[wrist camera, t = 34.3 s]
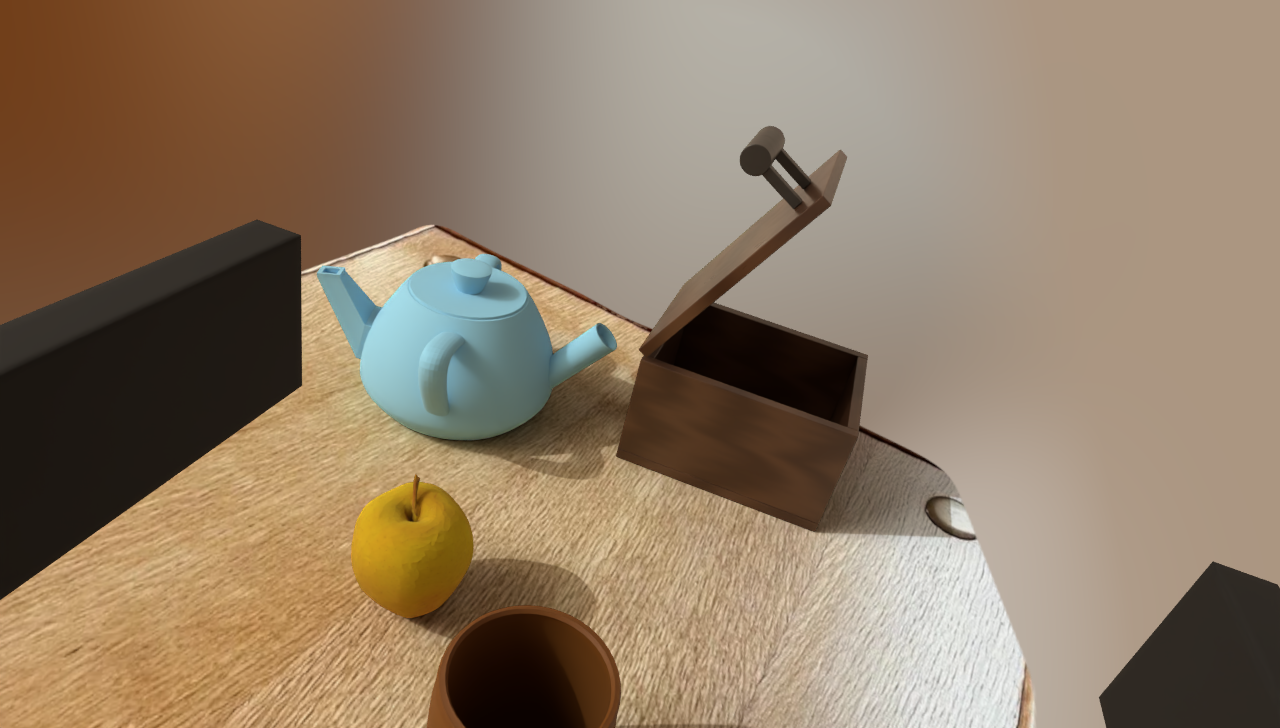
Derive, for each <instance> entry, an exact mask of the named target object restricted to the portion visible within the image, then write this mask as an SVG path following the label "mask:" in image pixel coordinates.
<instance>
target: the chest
mask: <svg viewBox="0 0 1280 728" xmlns="http://www.w3.org/2000/svg"><path fill="white" fill-rule="evenodd" d="M867 358H868V355H866V354H863V353H860V352H857V351H854V350H851V349H848V348H845V347H842V346H840V345H837V344H833V343H831V342H828V341H825V340H822V339H819V338H816V337H813V336H810V335H807V334H804V333H801V332H798V331H796V330H793V329H789V328H787V327H784V326H781V325H778V324H775V323H772V322H769V321H766V320H763V319H760V318H758V317H754V316H752V315H749V314H745V313H743V312H740V311H737V310H734V309H731V308H728V307H725V306H722V305H719V304H717V303H714V302H713V303H712V304H711V305H710V306H709V307H707V308H706V309H705V310H704V311H702V312H701V313H700V314H699V315H698V316H696V317H695V318H694V319H693V320H692V321H690V322H689V323H688V324H687V325H685V326H684V327H683V328H682V329H681V330H679V331H678V332H677V333H676V334H675V335H673V336H672V337H671V338H670V339H668V340H667V341H666V342H665V343H664V344H662V345H661V346H660V347H659V348H658V349H656V350H655V351H654V352H653V353H651V354H650V355H649V356H648V357H645V356H643V357H642V359H641V361H640V365H639V369H638V373H637V377H636V381H635V385H634V388H633V392H632V396H631V400H630V404H629V408H628V412H627V415H626V419H625V423H624V427H623V431H622V435H621V439H620V443H619V446H618V450H617V454H616V456H617V457H619V458H622V459H624V460H627V461H630V462H632V463H635V464H638V465H640V466H643V467H646V468H648V469H651V470H653V471H656V472H659V473H661V474H664V475H667V476H669V477H672V478H674V479H677V480H680V481H682V482H685V483H688V484H690V485H693V486H696V487H698V488H701V489H703V490H706V491H709V492H711V493H714V494H717V495H719V496H722V497H724V498H727V499H730V500H732V501H735V502H738V503H740V504H743V505H745V506H748V507H751V508H753V509H756V510H759V511H761V512H764V513H767V514H769V515H772V516H774V517H777V518H780V519H782V520H785V521H788V522H790V523H793V524H795V525H798V526H801V527H803V528H806V529H809V530H811V531H814V532H815V531H816V528H817V526H818V523H819V522H820V520H821V517H822V515H823V513H824V511H825V509H826V506H827V504H828V502H829V500H830V498H831V495H832V493H833V491H834V489H835V487H836V485H837V482H838V480H839V478H840V476H841V474H842V471H843V469H844V467H845V465H846V463H847V460H848V458H849V456H850V454H851V452H852V449H853V447H854V445H855V443H856V441H857V438H858V433H859V424H860V416H861V407H862V399H863V391H864V382H865V375H866V367H867Z"/></svg>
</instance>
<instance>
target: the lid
mask: <svg viewBox="0 0 1280 728" xmlns="http://www.w3.org/2000/svg"><path fill="white" fill-rule="evenodd" d="M784 143H785V138H784V135H783V133H782V132H781V130H780V129H778V128H776V127H773V126H768V127H765V128H763V129H761V130H760V131H759V132H758V134H757V135H756V136H755V137H754V138H753V139H752V141H751V142H750V143H749V144H748V145H747V147H746V148H745V149H744V150H743V151H742V153H741V155H740V165H741V167H742V169H743V170H744V171H745V172H746V173H747V174H749V175H752V176H760V175H763V176H764V177H765V178H766V180H767V181H768V182H769V183H770V184H771V185H772V186H773V187H774V188H775V189H776V191H777V192H778V193H779V194H780V195H781V196H782V197H783V200H781V201H780V202H779V203H778V204H776V205H775V206H774V207H773V208H772V209H771V210H770V211H768V212H767V213H766V214H765V215H764V216H763V217H761V218H760V219H759V220H758V221H757V222H756V223H755V224H753V225H752V226H751V227H750V228H749V229H748V230H746V231H745V232H744V233H743V234H742V235H741V236H739V237H738V238H737V239H736V240H735V241H734V242H733V243H731V244H730V245H729V246H728V247H727V248H726V249H724V250H723V251H722V252H721V253H720V254H719V255H718V256H716V257H715V258H714V259H713V260H712V261H711V262H709V263H708V264H707V265H706V266H705V267H704V268H702V269H701V270H700V271H699V272H698V273H697V274H695V275H694V276H693V277H692V278H691V279H690V280H688V281H687V282H686V283H685V284H684V285H683V287H682V288H681V289H680V291H679V293H678V294H677V295H676V297H675V298H674V300H673V301H672V302H671V304H670V305H669V307H668V308H667V310H666V311H665V313H664V314H663V316H662V317H661V318H660V320H659V321H658V323H657V324H656V325H655V327H654V328H653V330H652V331H651V333H650V334H649V336H648V337H647V338H646V340H645V341H644V343H643V344H642V346H641V347H640V349H639V351H640V352H641V353H642V354H643V355H644V356H645V357H648V356H649V355H650V354H651V353H653V352H654V351H655V350H656V349H658V348H659V347H660V346H661V345H662V344H664V343H665V342H666V341H667V340H668V339H670V338H671V337H672V336H673V335H675V334H676V333H677V332H678V331H679V330H681V329H682V328H683V327H684V326H685V325H687V324H688V323H689V322H690V321H692V320H693V319H694V318H695V317H696V316H698V315H699V314H700V313H701V312H702V311H704V310H705V309H706V308H707V307H709V306H710V305H711V304H712V303H713V302H715V301H716V300H717V299H718V298H719V297H720V296H722V295H723V294H724V293H726V292H727V291H728V290H729V289H730V288H732V287H733V286H734V285H735V284H736V283H738V282H739V281H740V280H741V279H742V278H744V277H745V276H746V275H747V274H749V273H750V272H751V271H752V270H753V269H755V268H756V267H757V266H758V265H759V264H761V263H762V262H763V261H764V260H766V259H767V258H768V257H769V256H770V255H771V254H773V253H774V252H775V251H777V250H778V249H779V248H780V247H781V246H783V245H784V244H785V243H786V242H787V241H789V240H790V239H791V238H792V237H794V236H795V235H796V234H797V233H798V232H800V231H801V230H802V229H803V228H804V227H806V226H807V225H808V224H809V223H811V222H812V221H813V220H814V219H815V218H817V217H818V216H819V215H820V214H822V213H823V212H824V211H825V210H826V209H828V208H829V207H830V206H831V204H832V201H833V198H834V195H835V192H836V189H837V186H838V183H839V180H840V177H841V174H842V171H843V168H844V165H845V163H846V159H847V156H846V155H845V154H844V153H843V152H842V151H841V150H839V151H838V152H837V153H835V154H834V155H833V156H832V157H831V158H830V159H829V160H827V162H825V163H824V164H823V165H822V166H821V167H819V168H818V169H817V170H816V171H815V172H813V173H812V174H811V175H810V176H809V177H808V176H807V175H806V174H805V173H804V172H803V170H802V169H801V168H800V167H799V166H798V165H797V164H796V163H795V161H794V160H793V159H792V158H791V157H790V156H789V155H788V154H787V152H786V151H785V150H784V149H783V146H784ZM775 159H776V160H777V161H778V162H779V163H780V164H781V165H782V167H783V168H784V169H785V170H786V171H787V172H788V173H789V174H790V176H791V177H792V178H793V179H794V180H795V181H796V182H797V183H798V184H799V185H798V186H797V187H796V188H795V189H794V190H793V189H792V188H791V187H790V186H789V184H788V183H787V182H786V181H785V180H784V179H783V178H782V176H781V175H780V174H779V173H778V172H777V171H776V170H775V169H774V167H773V166H772V163H773V162H774V160H775Z"/></svg>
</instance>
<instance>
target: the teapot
mask: <svg viewBox="0 0 1280 728" xmlns="http://www.w3.org/2000/svg"><path fill="white" fill-rule="evenodd" d="M317 277H318V279H319V281H320V283H321V286H322V288H323V290H324V292H325V294H326V296H327V298H328V300H329V302H330V304H331V306H332V308H333V311H334V313H335V315H336V317H337V319H338V321H339V323H340V325H341V327H342V329H343V331H344V333H345V335H346V338H347V340H348V342H349V344H350V346H351V348H352V350H353V352H354V354H355V356H356V358H359V359H361V362H360V375H361V379H362V382H363V385H364V387H365V389H366V391H367V393H368V394H369V396H370V397H371V398H372V400H373V401H374V402H375V403H376V404H377V405H378V406H379V407H380V408H381V409H382V410H383V411H384V412H386V413H387V414H388V415H389V416H391V417H392V418H393V419H395V420H396V421H397V422H399V423H400V424H402V425H404V426H405V427H407V428H409V429H412V430H414V431H416V432H419V433H422V434H425V435H428V436H432V437H437V438H442V439H449V440H479V439H486V438H491V437H495V436H498V435H501V434H504V433H506V432H508V431H510V430H513V429H514V428H516V427H518V426H520V425H522V424H523V423H525V422H527V421H528V420H529V419H531V418H532V417H534V416H535V415H536V414H537V413H538V412H539V411H540V410H541V409H542V408H543V407H544V405H545V404H546V402H547V401H548V399H549V397H550V395H551V392H552V388H554V387H555V386H557V385H559V384H560V383H562V382H564V381H565V380H567V379H568V378H570V377H572V376H573V375H575V374H577V373H578V372H580V371H581V370H583V369H585V368H586V367H588V366H590V365H591V364H593V363H594V362H596V361H598V360H599V359H601V358H603V357H604V356H606V355H607V354H609V353H611V352H612V351H614V350H615V349H616V348H617V343H616V340H615V338H614V336H613V334H612V333H611V331H610V330H609V329H608V328H607V327H606V326H605V325H603V324H601V323H598V324H596V325H595V326H593V327H592V328H590V329H589V330H588V331H586V332H585V333H583V334H582V335H580V336H579V337H577V338H576V339H574V340H573V341H572V342H570V343H569V344H567V345H566V346H564V347H563V348H561V349H560V350H558V351H557V352H556V353H554V354H553V351H552V345H551V341H550V337H549V334H548V332H547V329H546V326H545V324H544V321H543V319H542V317H541V315H540V313H539V311H538V309H537V307H536V305H535V303H534V301H533V299H532V298H531V296H530V295H529V293H528V291H527V290H526V288H525V287H524V286H523V285H522V284H521V283H520V282H519V281H518V280H517V279H515V278H514V277H512V276H511V275H509V274H507V273H505V272H503V271H501V261H500V260H499V259H498V258H497V257H495V256H493V255H489V254H481V255H478V256H477V257H476V258H475V259H458V260H455V261H454V262H443V263H437V264H432V265H429V266H426V267H424V268H421V269H420V270H418V271H416V272H415V273H413V274H412V275H411V276H410V277H409V278H408V279H407V280H406V281H405V282H404V283H403V284H402V285H401V286H400V287H399V288H398V289H397V290H396V292H395V293H394V294H393V295H392V296H391V297H390V298H389V300H388V301H387V302H386V303H385V304H384V306H383V307H382V308H381V307H378V306H376V305H375V304H374V303H373V302H372V301H371V300H370V299H369V297H368V296H367V295H366V294H365V293H364V292H363V291H362V289H361V288H360V287H359V286H358V285H357V284H356V283H355V281H354V280H353V279H352V278H351V277H350V276H349V275H348V274H347V272H346V271H345V268H344V267H332V266H322V267H321V268H320V269H319V271H318V272H317Z"/></svg>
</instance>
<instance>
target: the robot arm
mask: <svg viewBox="0 0 1280 728" xmlns="http://www.w3.org/2000/svg"><path fill="white" fill-rule="evenodd" d="M301 386H302V331H301V235H299V234H296V233H293V232H290V231H287V230H285V229H282V228H279V227H276V226H274V225H271V224H268V223H265V222H262V221H260V220H255V221H252V222H250V223H247V224H245V225H243V226H240V227H238V228H235V229H233V230H230V231H228V232H226V233H223V234H221V235H218V236H216V237H214V238H211V239H209V240H206V241H204V242H201V243H199V244H196V245H194V246H192V247H189V248H187V249H184V250H182V251H179V252H177V253H175V254H172V255H170V256H167V257H165V258H162V259H160V260H157V261H155V262H153V263H150V264H148V265H146V266H143V267H140V268H138V269H136V270H133V271H131V272H128V273H126V274H123V275H121V276H119V277H116V278H114V279H111V280H109V281H106V282H104V283H102V284H99V285H97V286H94V287H92V288H89V289H87V290H84V291H82V292H80V293H77V294H75V295H72V296H70V297H68V298H65V299H63V300H60V301H58V302H56V303H53V304H51V305H48V306H46V307H43V308H41V309H38V310H36V311H33V312H31V313H29V314H26V315H24V316H21V317H19V318H16V319H14V320H12V321H9V322H7V323H4V324H2V325H0V600H1V599H2V598H4V597H5V596H7V595H8V594H9V593H11V592H12V591H14V590H15V589H16V588H18V587H19V586H21V585H22V584H23V583H25V582H26V581H28V580H29V579H30V578H32V577H33V576H35V575H36V574H38V573H39V572H40V571H42V570H43V569H45V568H46V567H47V566H49V565H50V564H52V563H53V562H54V561H56V560H57V559H59V558H60V557H61V556H63V555H64V554H66V553H67V552H68V551H70V550H71V549H73V548H74V547H76V546H77V545H78V544H80V543H81V542H83V541H84V540H85V539H87V538H88V537H90V536H91V535H92V534H94V533H95V532H97V531H98V530H99V529H101V528H102V527H104V526H105V525H106V524H108V523H109V522H111V521H112V520H113V519H115V518H116V517H118V516H119V515H121V514H122V513H123V512H125V511H126V510H128V509H129V508H130V507H132V506H133V505H135V504H136V503H137V502H139V501H140V500H142V499H143V498H144V497H146V496H147V495H149V494H150V493H151V492H153V491H154V490H156V489H157V488H159V487H160V486H161V485H163V484H164V483H166V482H167V481H168V480H170V479H171V478H173V477H174V476H175V475H177V474H178V473H180V472H181V471H182V470H184V469H185V468H187V467H188V466H189V465H191V464H192V463H194V462H195V461H197V460H198V459H199V458H201V457H202V456H204V455H205V454H206V453H208V452H209V451H211V450H212V449H213V448H215V447H216V446H218V445H219V444H220V443H222V442H223V441H225V440H226V439H227V438H229V437H230V436H232V435H233V434H234V433H236V432H237V431H239V430H240V429H242V428H243V427H244V426H246V425H247V424H249V423H250V422H251V421H253V420H254V419H256V418H257V417H258V416H260V415H261V414H263V413H264V412H265V411H267V410H268V409H270V408H271V407H272V406H274V405H275V404H277V403H278V402H280V401H281V400H282V399H284V398H285V397H287V396H288V395H289V394H291V393H292V392H294V391H295V390H296V389H298V388H299V387H301ZM1099 699H1100V703H1101V707H1102V712H1103V716H1104V720H1105V724H1106V728H1280V588H1279V586H1278V585H1277V584H1274V583H1271V582H1269V581H1266V580H1263V579H1260V578H1258V577H1255V576H1252V575H1249V574H1246V573H1243V572H1241V571H1238V570H1235V569H1233V568H1230V567H1227V566H1224V565H1221V564H1219V563H1216V562H1212V563H1211V564H1210V566H1209V567H1208V568H1207V569H1206V570H1205V572H1204V573H1203V574H1202V575H1201V576H1200V577H1199V579H1198V580H1197V581H1196V582H1195V583H1194V585H1193V586H1192V587H1191V588H1190V590H1189V591H1188V592H1187V593H1186V594H1185V595H1184V597H1183V598H1182V599H1181V600H1180V601H1179V603H1178V604H1177V605H1176V606H1175V607H1174V608H1173V610H1172V611H1171V612H1170V613H1169V614H1168V616H1167V617H1166V618H1165V619H1164V620H1163V622H1162V623H1161V624H1160V625H1159V627H1158V628H1157V629H1156V630H1155V631H1154V632H1153V633H1152V635H1151V636H1150V637H1149V638H1148V639H1147V641H1146V642H1145V643H1144V644H1143V645H1142V647H1141V648H1140V649H1139V650H1138V652H1137V653H1136V654H1135V655H1134V656H1133V658H1132V659H1131V660H1130V661H1129V662H1128V663H1127V665H1126V666H1125V667H1124V668H1123V669H1122V671H1121V672H1120V673H1119V674H1118V675H1117V676H1116V678H1115V679H1114V680H1113V681H1112V683H1111V684H1110V685H1109V686H1108V687H1107V688H1106V690H1105V691H1104V692H1103V693H1102V694H1101V696H1100V697H1099Z"/></svg>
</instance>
